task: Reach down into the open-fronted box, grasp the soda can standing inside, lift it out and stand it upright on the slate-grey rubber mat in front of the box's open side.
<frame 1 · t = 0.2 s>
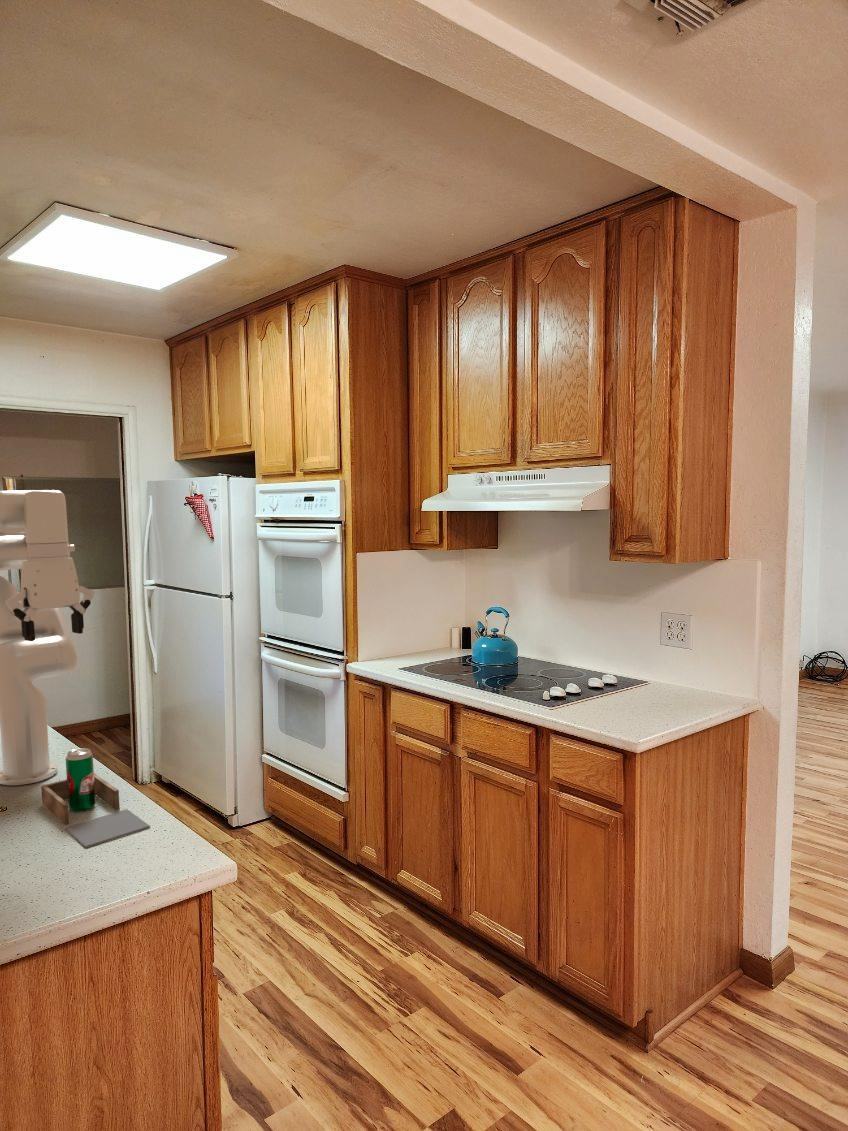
hand: (54, 636, 154), 36 cm above the countertop, tool pointing down, fingers open, 9 cm apart
soda can: (82, 809, 156), resting in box
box: (80, 806, 157), on the countertop
mat: (107, 828, 146), on the countertop
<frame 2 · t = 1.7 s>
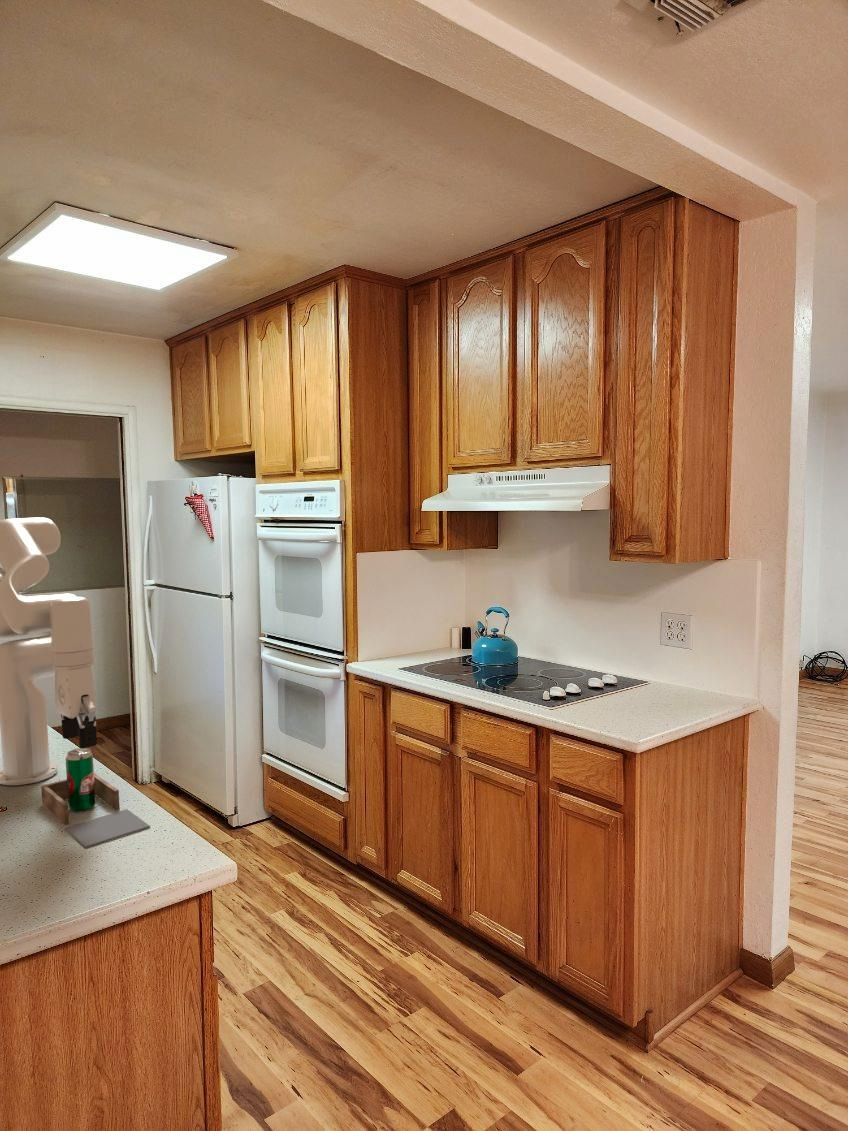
hand: (79, 741, 154), 14 cm above the countertop, tool pointing down, fingers open, 9 cm apart
nothing on the countertop moved.
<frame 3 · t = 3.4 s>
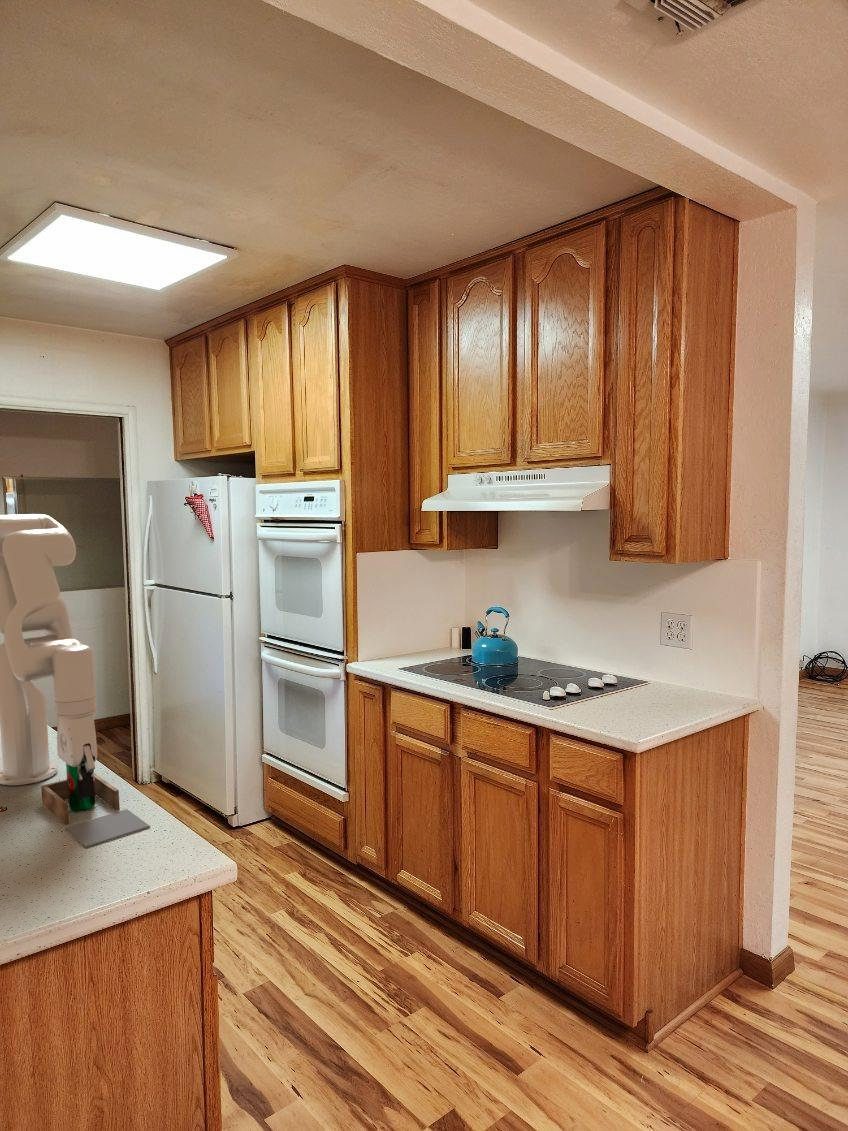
hand: (81, 792, 156), 3 cm above the countertop, tool pointing down, fingers closed on soda can, 4 cm apart
soda can: (82, 808, 156), resting in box, touching gripper
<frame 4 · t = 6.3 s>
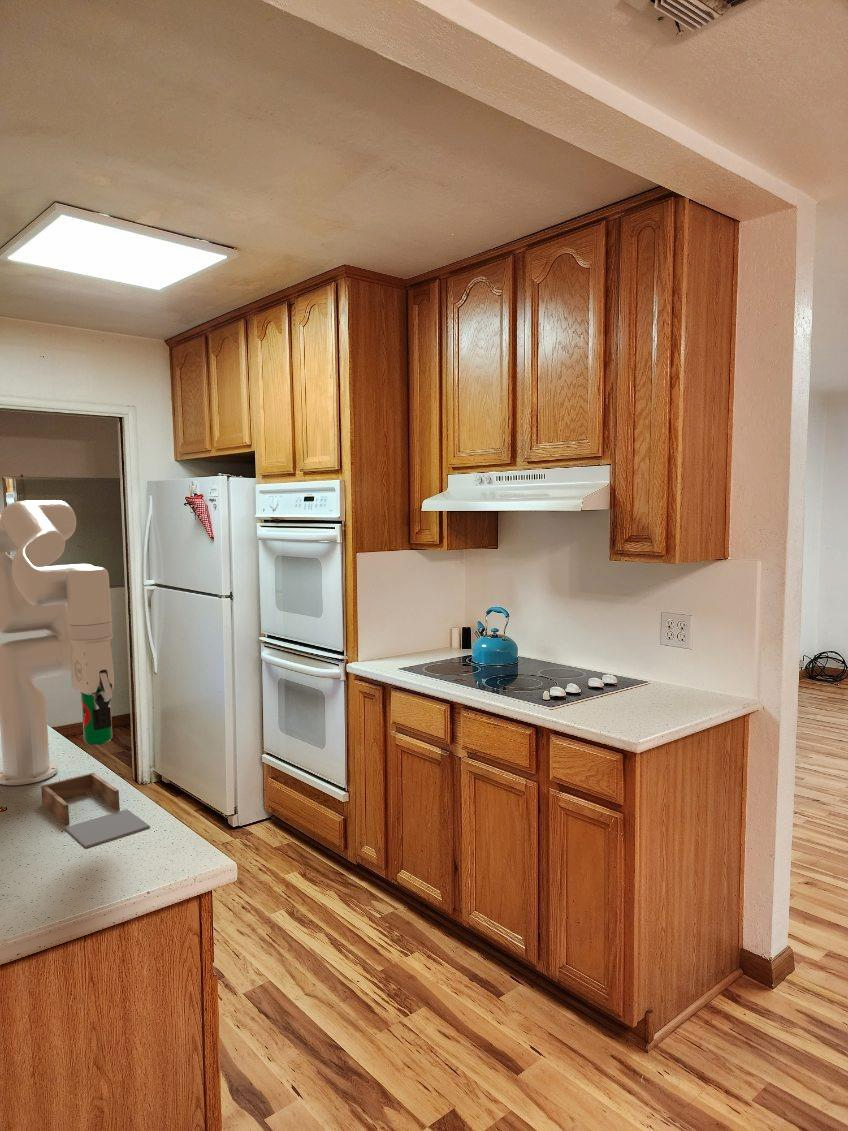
hand: (97, 724, 146), 20 cm above the countertop, tool pointing down, fingers closed on soda can, 4 cm apart
soda can: (98, 742, 146), point 16 cm above the countertop, touching gripper
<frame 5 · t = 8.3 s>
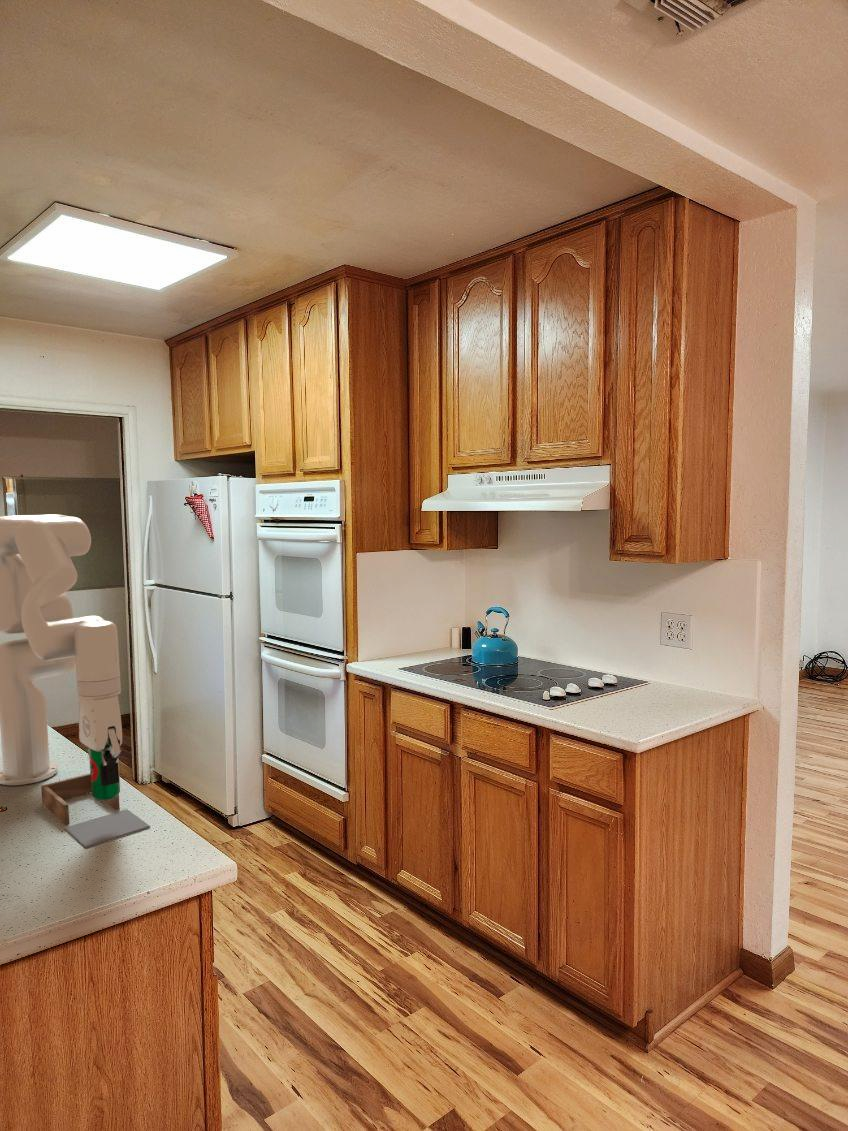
hand: (104, 779, 145), 10 cm above the countertop, tool pointing down, fingers closed on soda can, 4 cm apart
soda can: (106, 797, 146), point 6 cm above the countertop, touching gripper
when the fingers open (5 cm above the countertop, at t = 9.6 s): soda can drops 1 cm, resting on mat.
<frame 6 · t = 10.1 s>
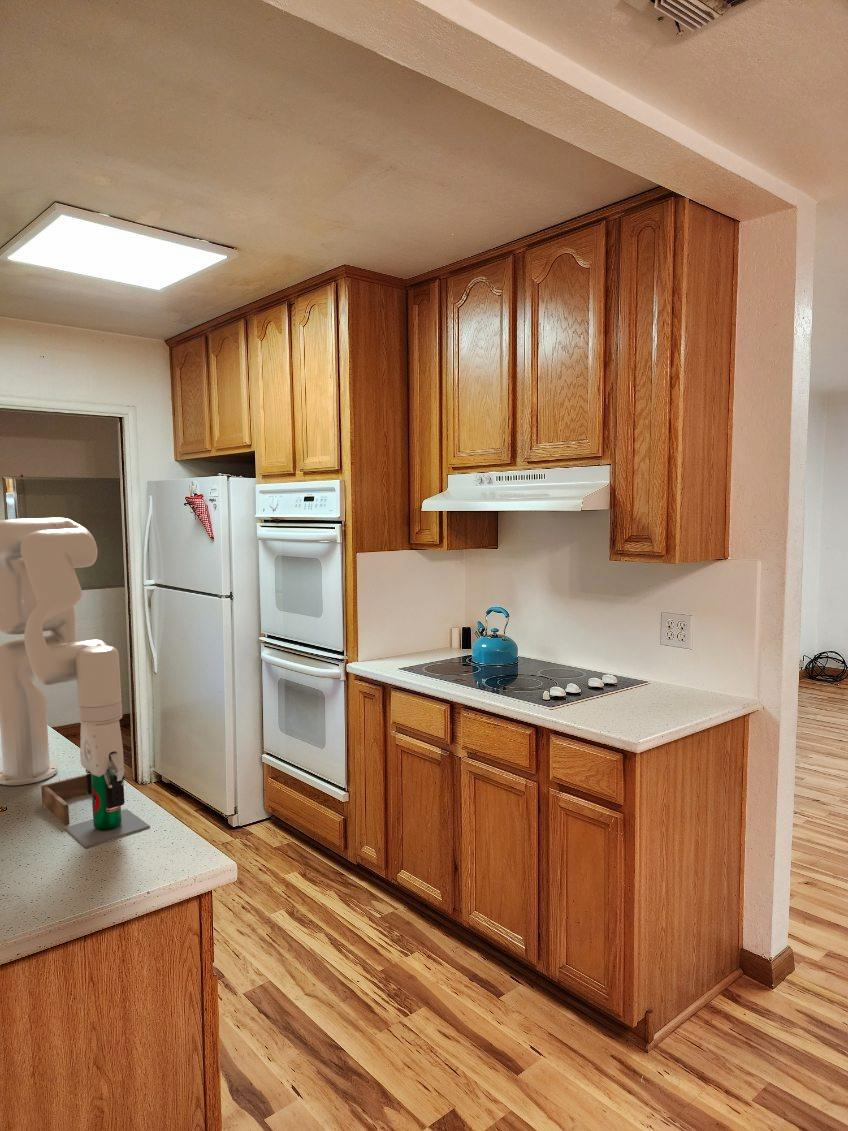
hand: (105, 799, 146), 6 cm above the countertop, tool pointing down, fingers open, 9 cm apart
soda can: (107, 827, 146), resting on mat
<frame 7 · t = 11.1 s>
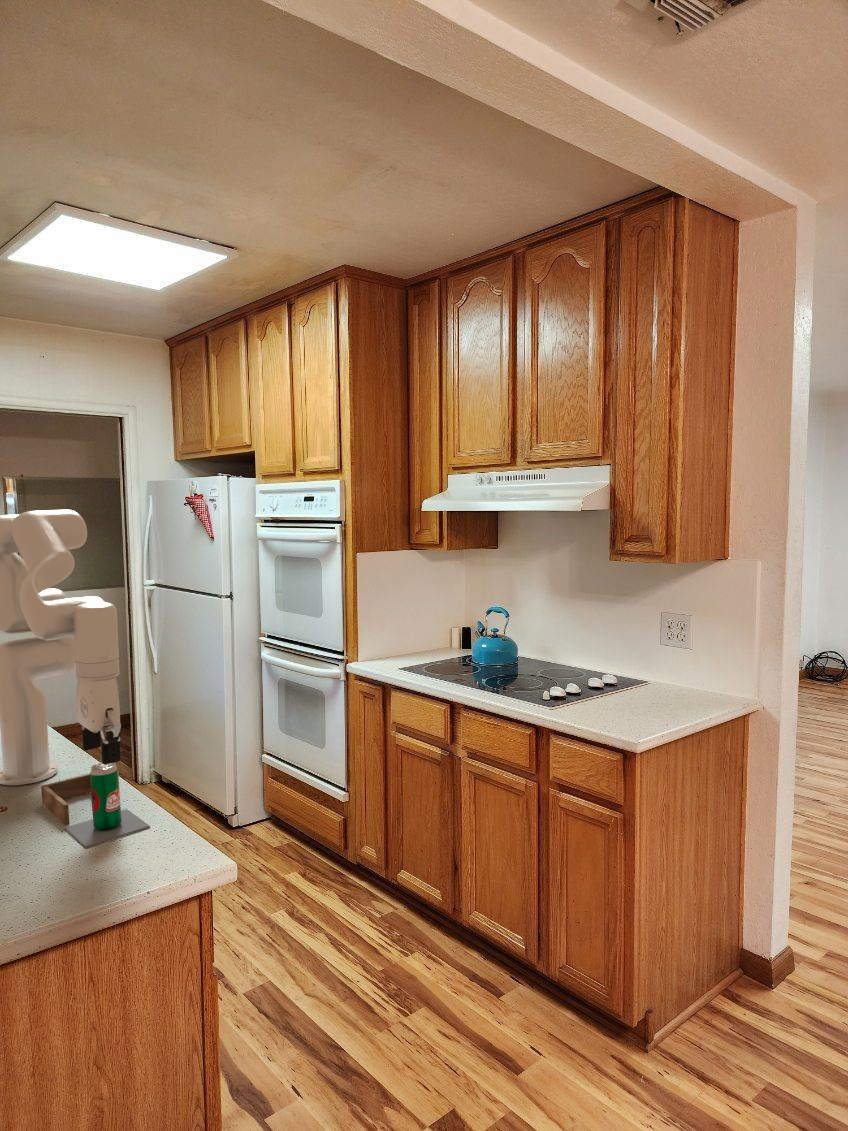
hand: (101, 755, 146), 14 cm above the countertop, tool pointing down, fingers open, 9 cm apart
nothing on the countertop moved.
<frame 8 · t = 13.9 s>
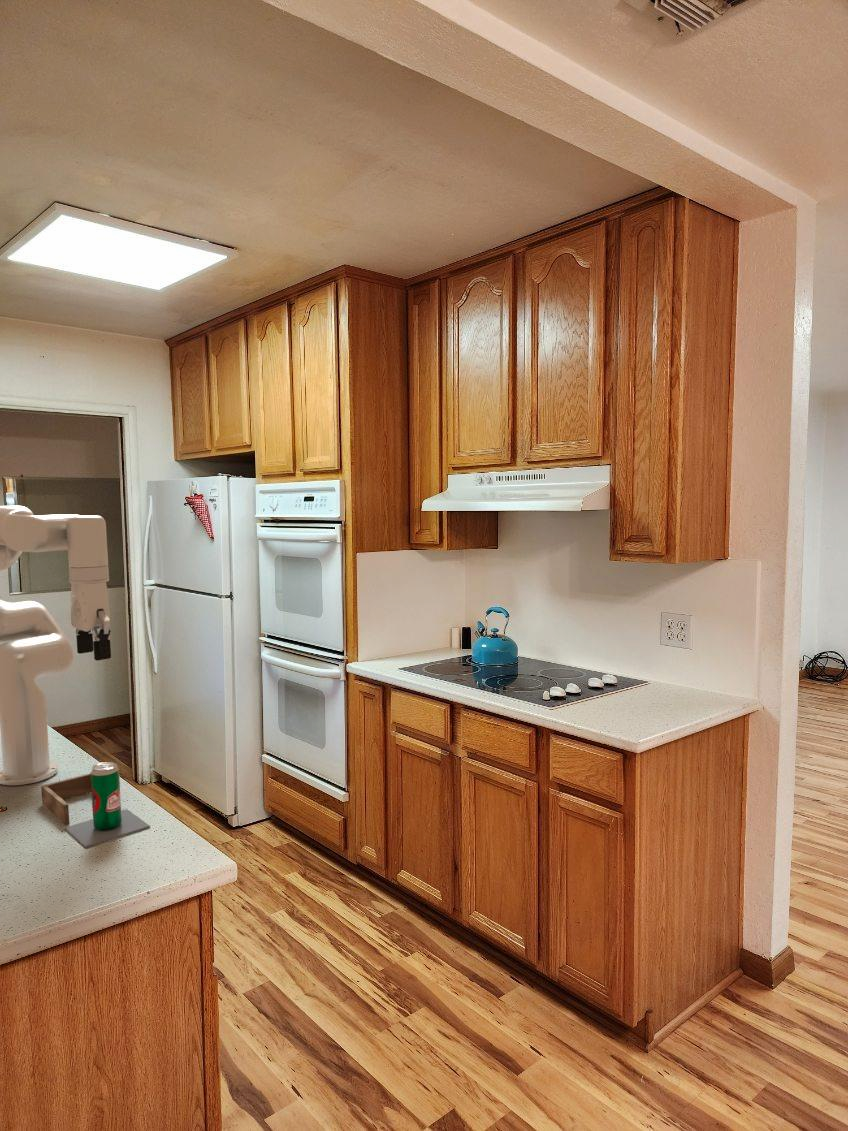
hand: (94, 655, 160), 30 cm above the countertop, tool pointing down, fingers open, 9 cm apart
nothing on the countertop moved.
at the end: soda can inside the target area on the mat (0.1 cm from its centre), point 0.2 cm above the mat's base; soda can tilted 0°; the gripper is holding nothing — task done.
